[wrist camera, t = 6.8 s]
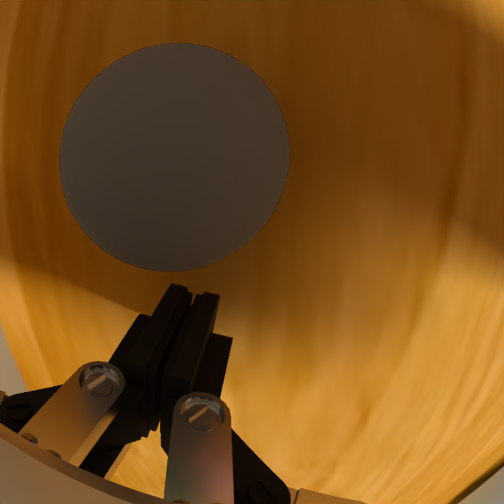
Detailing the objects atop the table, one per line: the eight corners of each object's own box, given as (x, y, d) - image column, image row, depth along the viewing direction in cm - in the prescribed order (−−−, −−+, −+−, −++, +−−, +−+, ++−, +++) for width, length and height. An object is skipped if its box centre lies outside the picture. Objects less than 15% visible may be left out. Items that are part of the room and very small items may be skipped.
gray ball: (207, 356, 7) (261, 227, 11) (329, 130, 3) (332, 83, 8) (24, 253, 7) (127, 167, 11) (16, 36, 3) (162, 23, 7)
